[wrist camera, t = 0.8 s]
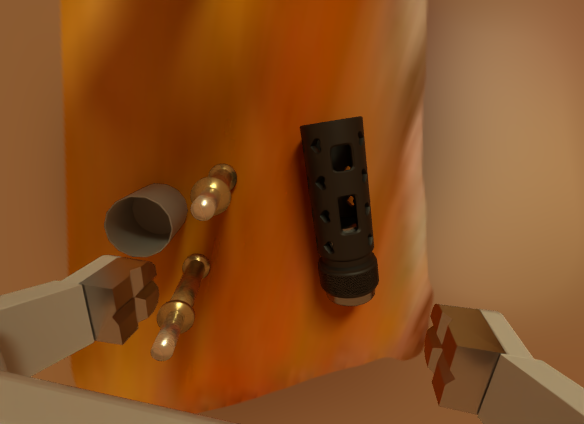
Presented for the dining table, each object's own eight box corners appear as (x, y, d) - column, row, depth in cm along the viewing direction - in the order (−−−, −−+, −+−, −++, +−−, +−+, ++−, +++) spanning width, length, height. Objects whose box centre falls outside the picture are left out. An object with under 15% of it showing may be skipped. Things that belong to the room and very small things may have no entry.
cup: (197, 215, 51) (185, 234, 41) (157, 243, 51) (135, 268, 41) (163, 173, 48) (142, 183, 39) (121, 202, 49) (89, 219, 39)
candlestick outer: (187, 250, 52) (144, 329, 31) (213, 257, 53) (188, 338, 32) (180, 273, 53) (135, 365, 32) (206, 280, 54) (177, 373, 33)
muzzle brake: (350, 117, 50) (375, 114, 40) (365, 272, 57) (389, 301, 47) (293, 127, 49) (303, 125, 39) (316, 282, 57) (330, 314, 47)
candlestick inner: (213, 159, 49) (185, 180, 28) (240, 168, 50) (232, 194, 29) (205, 186, 50) (173, 224, 29) (232, 194, 50) (219, 237, 30)
